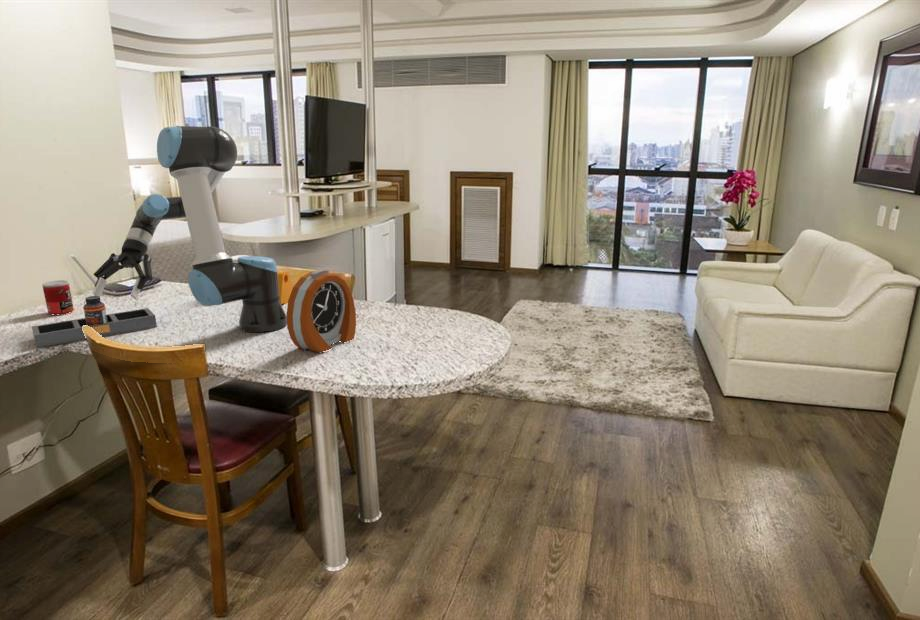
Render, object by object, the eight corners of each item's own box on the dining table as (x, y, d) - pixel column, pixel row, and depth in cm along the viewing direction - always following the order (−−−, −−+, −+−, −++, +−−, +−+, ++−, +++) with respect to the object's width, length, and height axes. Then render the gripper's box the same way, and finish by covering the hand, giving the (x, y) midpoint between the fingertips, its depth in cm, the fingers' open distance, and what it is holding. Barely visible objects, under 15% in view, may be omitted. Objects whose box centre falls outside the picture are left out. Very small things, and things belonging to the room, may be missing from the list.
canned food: (65, 315, 210) (59, 285, 207) (43, 315, 210) (36, 285, 207) (79, 309, 218) (73, 280, 215) (57, 309, 218) (51, 280, 215)
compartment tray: (157, 327, 197) (155, 315, 196) (36, 348, 178) (33, 335, 177) (149, 319, 206) (148, 308, 205) (34, 338, 187) (31, 326, 186)
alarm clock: (314, 357, 170) (307, 280, 164) (288, 351, 175) (281, 276, 168) (362, 335, 189) (358, 265, 182) (338, 330, 193) (333, 262, 187)
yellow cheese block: (277, 298, 232) (274, 267, 229) (294, 298, 231) (291, 268, 227) (263, 305, 222) (260, 274, 218) (281, 306, 221) (278, 274, 217)
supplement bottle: (85, 335, 189) (78, 300, 185) (90, 329, 194) (84, 295, 191) (106, 333, 190) (100, 298, 187) (111, 327, 196) (105, 294, 192)
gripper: (175, 250, 211) (155, 303, 201) (110, 249, 214) (87, 300, 204) (164, 238, 205) (143, 291, 195) (97, 237, 208) (73, 289, 198)
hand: (114, 296), depth 200 cm, fingers open, 13 cm apart
